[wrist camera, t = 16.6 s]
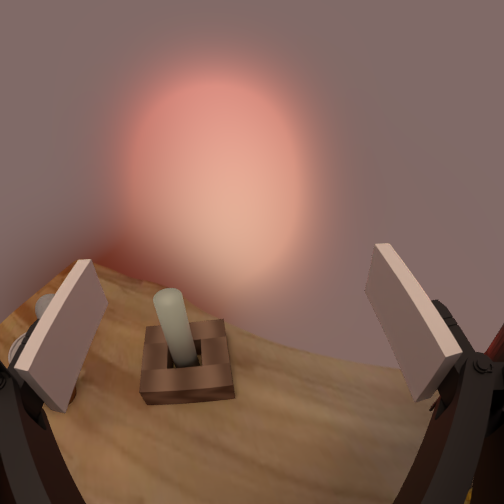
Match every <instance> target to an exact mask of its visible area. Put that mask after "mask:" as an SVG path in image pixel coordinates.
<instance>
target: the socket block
mask: <svg viewBox="0 0 504 504" xmlns="http://www.w3.org/2000/svg"><path fill="white" fill-rule="evenodd" d="M189 326H190V330H191V334H192V338H193V342H194V345H195V349H196V353H197V355H200V354H202V366H196V367H185V368H173V358H172V356H171V353H170V350H169V347H168V344H167V342H166V339H165V336H164V333H163V330H162V327H161V325H160V326H148V327H146V334H145V342H144V350H143V359H142V368H141V379H140V390H139V393H140V394H141V396H142V397H143V399H144V401H145V402H146V404H147V405H163V404H181V403H195V402H206V401H216V400H225V399H233V398H235V394H234V387H233V381H232V374H231V368H230V361H229V354H228V347H227V340H226V332H225V325H224V319H219V320H210V321H201V322H192V323H189Z"/></svg>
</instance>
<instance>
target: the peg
mask: <svg viewBox="0 0 504 504" xmlns="http://www.w3.org/2000/svg"><path fill="white" fill-rule="evenodd" d="M153 302H154V305H155V309H156V312H157V315H158V318H159V321H160V324H161V327H162V330H163V333H164V336H165V339H166V342H167V344H168V347H169V350H170V353H171V356H172V358H173V361H174V364H175V366H176V368H185V367H196V366H200V364H199V360H198V357H197V353H196V349H195V345H194V342H193V338H192V334H191V330H190V326H189V322H188V318H187V314H186V309H185V305H184V301H183V297H182V293H181V292H180V291H179V290H177V289H175V288H166V289H163V290H160V291H159V292H157V293H156V294H155V296H154V298H153Z"/></svg>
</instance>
